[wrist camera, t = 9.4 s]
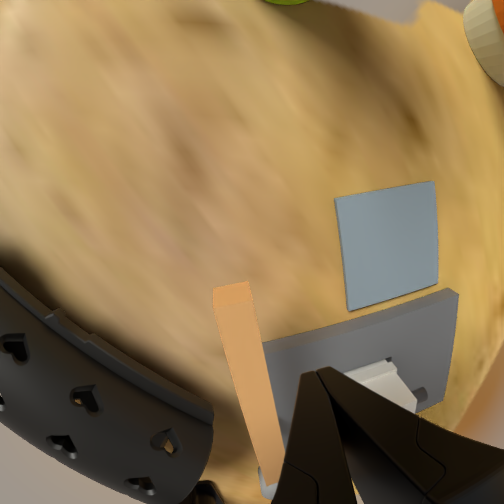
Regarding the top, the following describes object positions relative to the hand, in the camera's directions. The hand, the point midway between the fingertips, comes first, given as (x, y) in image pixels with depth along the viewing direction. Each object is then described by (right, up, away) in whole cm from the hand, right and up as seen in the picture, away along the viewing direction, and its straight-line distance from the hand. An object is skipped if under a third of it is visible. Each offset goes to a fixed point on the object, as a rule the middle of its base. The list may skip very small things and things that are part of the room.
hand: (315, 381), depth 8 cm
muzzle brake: (-14, +1, +8) cm, 16 cm away
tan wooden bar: (-1, -5, +8) cm, 9 cm away
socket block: (+7, -7, +16) cm, 19 cm away
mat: (+8, +4, +13) cm, 16 cm away
